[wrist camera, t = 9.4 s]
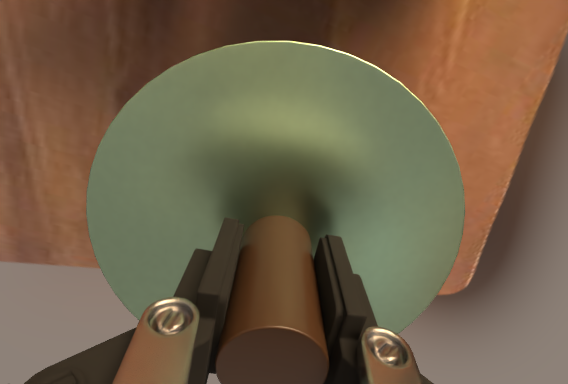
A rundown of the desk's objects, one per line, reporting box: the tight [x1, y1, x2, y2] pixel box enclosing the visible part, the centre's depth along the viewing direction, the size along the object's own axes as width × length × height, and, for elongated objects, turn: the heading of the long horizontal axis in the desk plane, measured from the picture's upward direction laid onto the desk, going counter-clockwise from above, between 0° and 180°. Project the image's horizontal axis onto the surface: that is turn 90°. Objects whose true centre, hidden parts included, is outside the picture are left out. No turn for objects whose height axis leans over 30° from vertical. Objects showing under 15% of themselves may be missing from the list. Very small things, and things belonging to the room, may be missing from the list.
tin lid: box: [86, 40, 465, 384], centre depth 11 cm, size 15×15×7 cm
